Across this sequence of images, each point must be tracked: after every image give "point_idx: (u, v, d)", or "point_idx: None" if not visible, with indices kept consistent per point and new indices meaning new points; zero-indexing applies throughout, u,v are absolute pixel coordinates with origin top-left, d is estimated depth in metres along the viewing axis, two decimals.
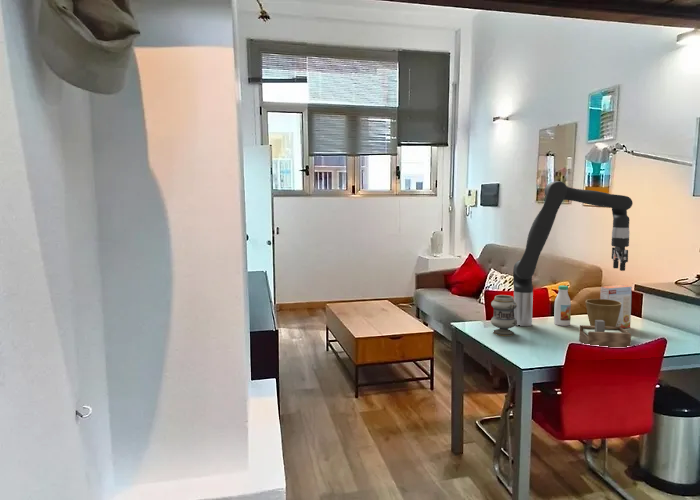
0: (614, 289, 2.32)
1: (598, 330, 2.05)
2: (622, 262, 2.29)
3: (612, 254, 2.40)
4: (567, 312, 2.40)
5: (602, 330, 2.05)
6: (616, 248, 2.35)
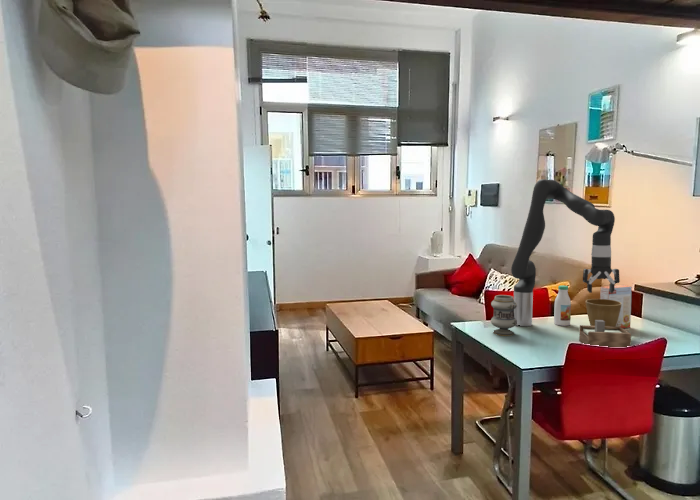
0: (614, 289, 2.32)
1: (598, 330, 2.05)
2: (615, 283, 2.05)
3: (587, 277, 2.06)
4: (567, 312, 2.40)
5: (602, 330, 2.05)
6: (598, 269, 2.06)
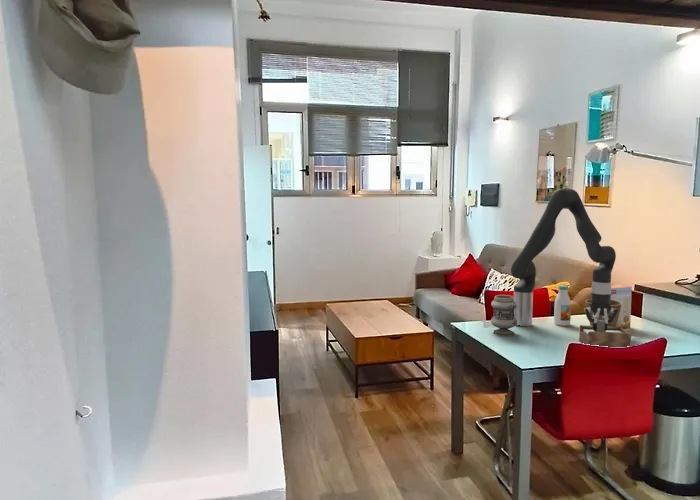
0: (614, 289, 2.32)
1: (598, 330, 2.05)
2: (608, 322, 2.05)
3: None
4: (567, 312, 2.40)
5: (602, 330, 2.05)
6: (598, 305, 2.05)
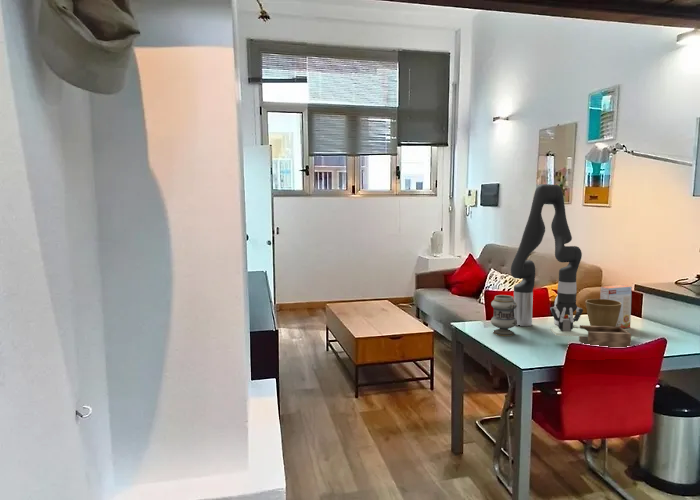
0: (614, 289, 2.32)
1: (564, 329, 2.08)
2: (574, 321, 2.08)
3: (556, 315, 2.08)
4: None
5: (568, 329, 2.08)
6: (564, 305, 2.07)
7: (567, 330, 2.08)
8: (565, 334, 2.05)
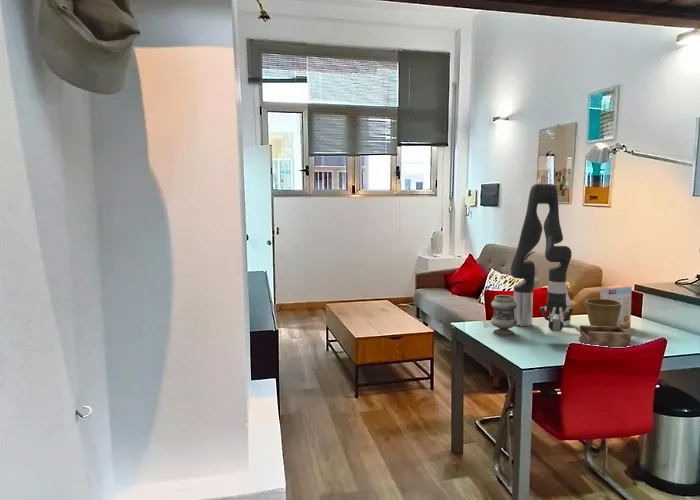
0: (614, 289, 2.32)
1: (554, 328, 2.09)
2: None
3: (546, 314, 2.09)
4: None
5: (558, 328, 2.08)
6: (553, 304, 2.08)
7: (557, 330, 2.08)
8: (555, 334, 2.05)
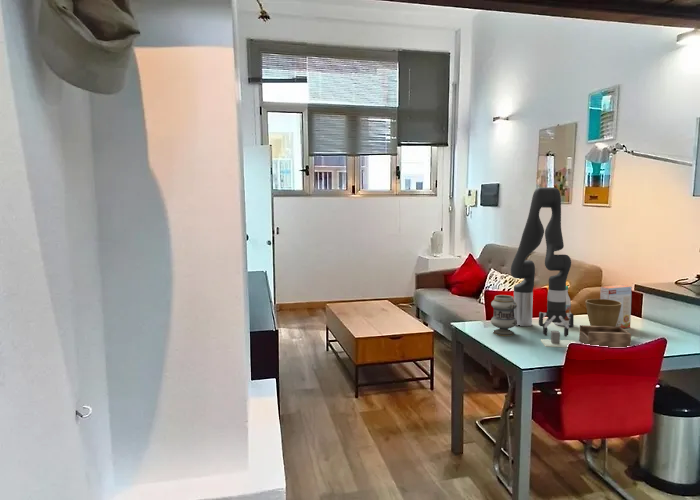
0: (614, 289, 2.32)
1: (553, 341, 2.09)
2: (569, 327, 2.08)
3: (542, 320, 2.09)
4: (567, 312, 2.40)
5: (557, 341, 2.09)
6: (553, 313, 2.08)
7: (556, 342, 2.09)
8: (554, 346, 2.06)
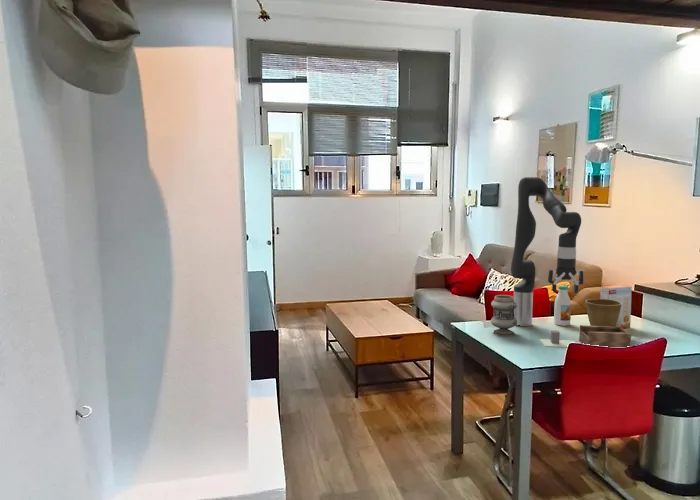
0: (614, 289, 2.32)
1: (553, 341, 2.09)
2: (579, 284, 2.10)
3: None
4: (567, 312, 2.40)
5: (557, 341, 2.09)
6: (563, 270, 2.11)
7: (556, 342, 2.09)
8: (554, 346, 2.06)
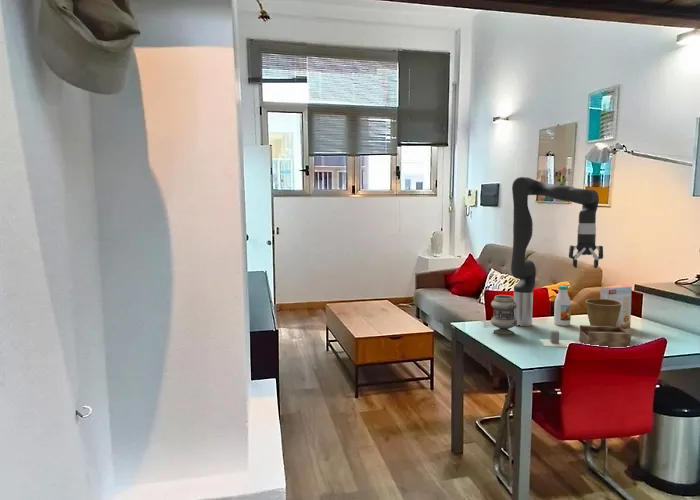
0: (614, 289, 2.32)
1: (553, 341, 2.09)
2: None
3: None
4: (567, 312, 2.40)
5: (557, 341, 2.09)
6: (583, 245, 2.19)
7: (556, 342, 2.09)
8: (553, 346, 2.06)
